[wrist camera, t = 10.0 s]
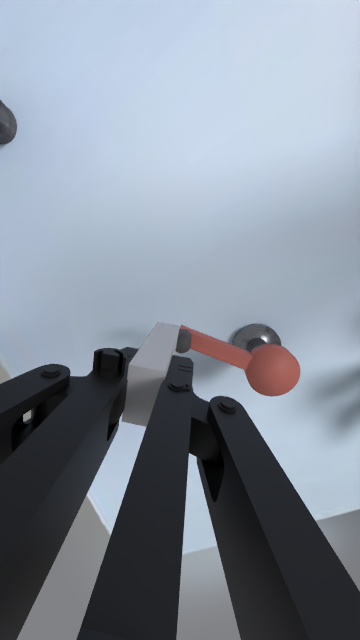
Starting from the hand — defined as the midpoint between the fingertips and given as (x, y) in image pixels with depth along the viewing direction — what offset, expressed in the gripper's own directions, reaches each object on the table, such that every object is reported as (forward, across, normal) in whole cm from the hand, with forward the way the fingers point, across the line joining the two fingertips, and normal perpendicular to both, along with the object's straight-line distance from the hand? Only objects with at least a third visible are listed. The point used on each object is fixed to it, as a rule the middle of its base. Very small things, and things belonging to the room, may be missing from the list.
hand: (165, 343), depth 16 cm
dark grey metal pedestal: (+20, +12, -6) cm, 24 cm away
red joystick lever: (+13, +7, -5) cm, 15 cm away
